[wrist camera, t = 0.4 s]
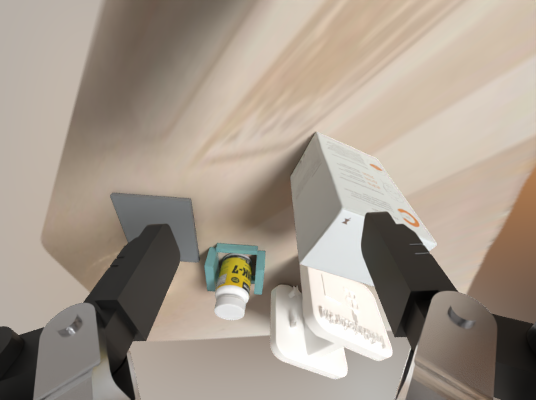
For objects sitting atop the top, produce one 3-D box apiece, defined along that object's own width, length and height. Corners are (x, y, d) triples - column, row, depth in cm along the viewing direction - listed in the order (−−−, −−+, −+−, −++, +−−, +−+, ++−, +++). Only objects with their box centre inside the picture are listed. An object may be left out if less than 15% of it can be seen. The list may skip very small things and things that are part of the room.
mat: (112, 192, 31) (109, 195, 31) (190, 198, 32) (189, 201, 31) (135, 255, 39) (134, 258, 38) (199, 259, 39) (198, 262, 38)
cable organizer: (266, 280, 42) (263, 355, 32) (308, 246, 36) (319, 325, 27) (329, 310, 47) (342, 383, 37) (374, 284, 42) (402, 361, 32)
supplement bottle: (258, 261, 39) (255, 313, 32) (240, 274, 41) (233, 325, 34) (234, 247, 37) (225, 298, 30) (216, 261, 39) (204, 313, 32)
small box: (288, 176, 29) (295, 265, 19) (315, 129, 26) (342, 206, 15) (346, 199, 31) (382, 291, 21) (379, 158, 28) (441, 244, 17)
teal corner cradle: (209, 242, 36) (203, 261, 34) (265, 246, 37) (264, 265, 34) (212, 275, 41) (208, 294, 38) (262, 279, 41) (261, 298, 39)
